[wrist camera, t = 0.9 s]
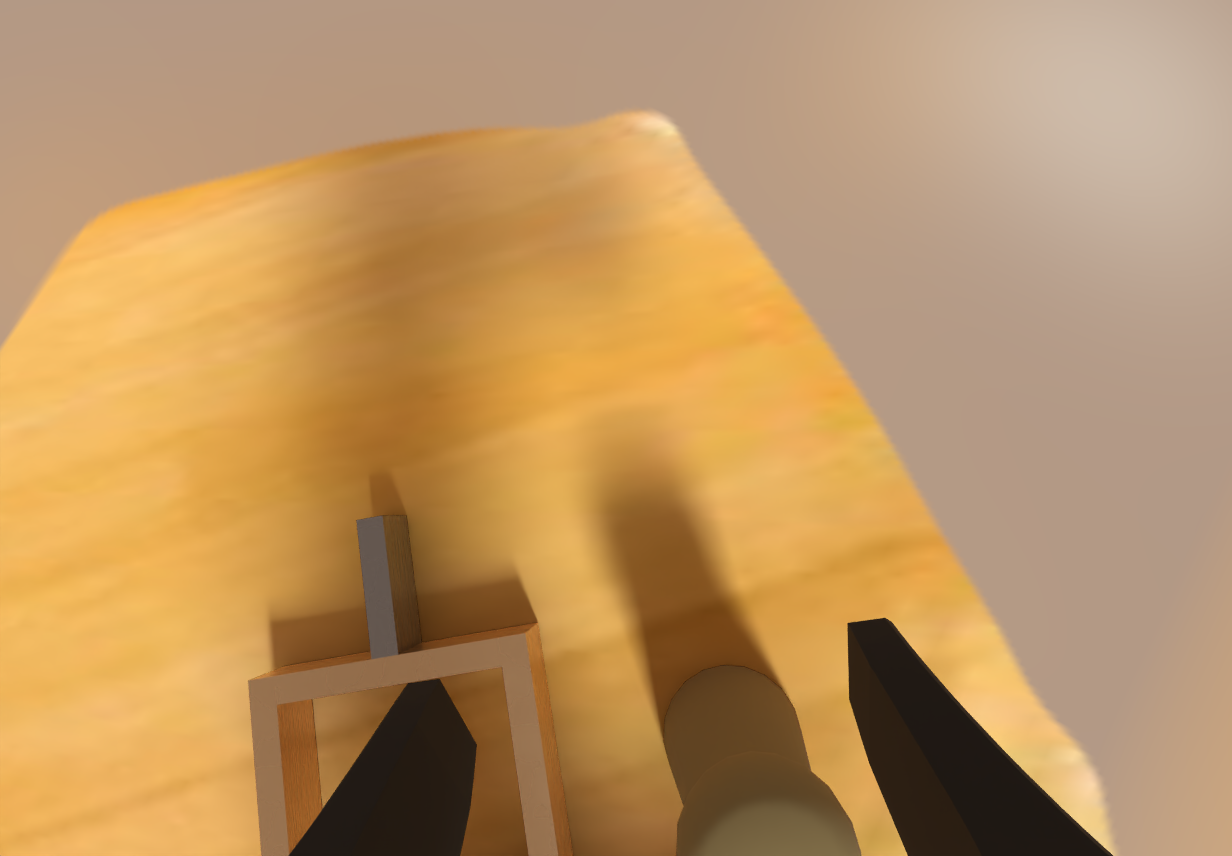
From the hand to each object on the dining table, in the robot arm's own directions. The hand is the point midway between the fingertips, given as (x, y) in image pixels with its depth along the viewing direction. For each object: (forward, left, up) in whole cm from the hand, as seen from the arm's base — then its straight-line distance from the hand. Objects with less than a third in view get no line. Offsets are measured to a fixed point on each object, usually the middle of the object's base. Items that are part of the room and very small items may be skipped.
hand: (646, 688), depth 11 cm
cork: (-7, -2, -17) cm, 19 cm away
